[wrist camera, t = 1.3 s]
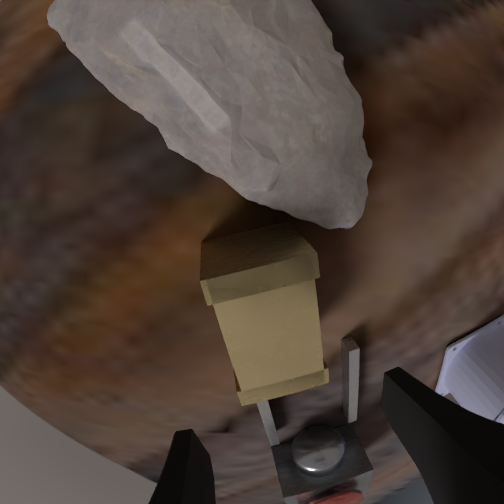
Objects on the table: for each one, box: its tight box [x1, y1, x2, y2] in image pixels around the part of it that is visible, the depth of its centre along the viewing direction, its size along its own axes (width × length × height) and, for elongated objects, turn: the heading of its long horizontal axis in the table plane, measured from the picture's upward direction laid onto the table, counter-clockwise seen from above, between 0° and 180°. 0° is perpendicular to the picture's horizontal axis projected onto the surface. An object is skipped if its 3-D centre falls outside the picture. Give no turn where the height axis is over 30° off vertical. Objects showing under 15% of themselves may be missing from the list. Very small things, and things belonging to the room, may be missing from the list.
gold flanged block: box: [200, 221, 329, 406], centre depth 17 cm, size 5×8×5 cm, turn 11°
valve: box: [257, 336, 374, 504], centre depth 22 cm, size 8×22×7 cm, turn 11°
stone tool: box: [47, 0, 372, 230], centre depth 11 cm, size 12×5×25 cm
